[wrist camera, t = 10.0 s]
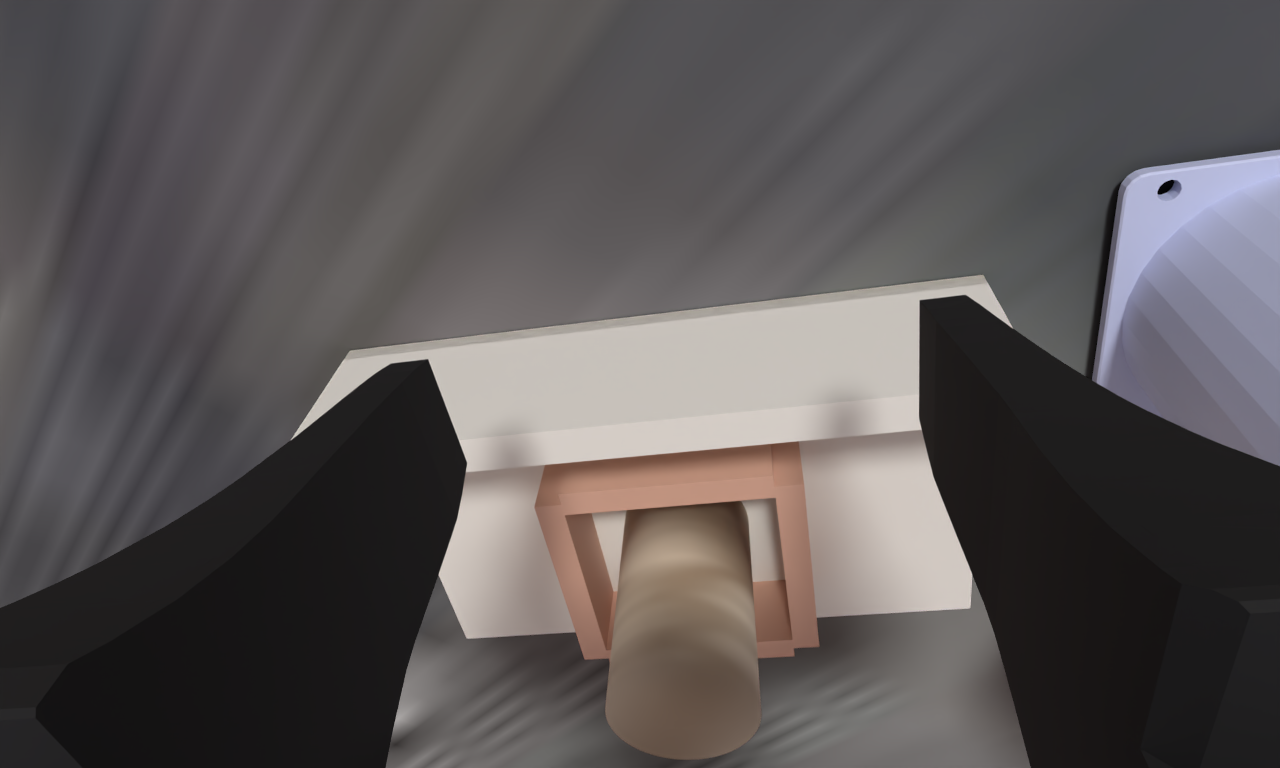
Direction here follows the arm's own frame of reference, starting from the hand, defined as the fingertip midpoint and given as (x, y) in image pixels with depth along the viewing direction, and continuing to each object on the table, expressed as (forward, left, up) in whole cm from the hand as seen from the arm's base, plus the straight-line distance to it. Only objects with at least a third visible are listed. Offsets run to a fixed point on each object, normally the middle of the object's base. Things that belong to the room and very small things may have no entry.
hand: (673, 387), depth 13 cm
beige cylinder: (+2, +12, -10) cm, 16 cm away
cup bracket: (+2, +11, -10) cm, 15 cm away
